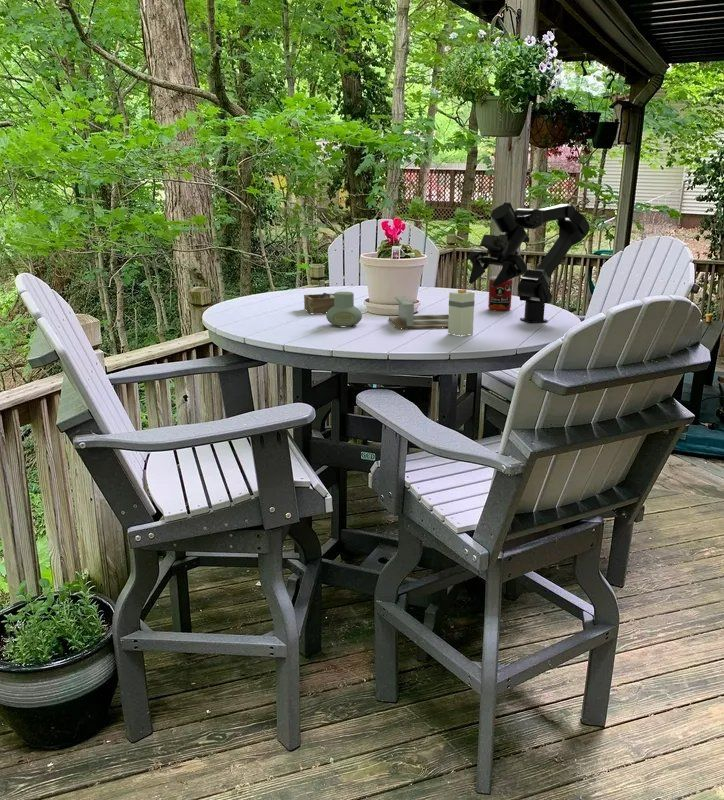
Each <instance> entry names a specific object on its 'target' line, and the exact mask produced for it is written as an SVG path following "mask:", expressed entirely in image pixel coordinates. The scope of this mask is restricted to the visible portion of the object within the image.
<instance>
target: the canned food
mask: <svg viewBox="0 0 724 800" xmlns="http://www.w3.org/2000/svg"><path fill="white" fill-rule="evenodd" d="M497 276H498V275H493V276H490V277H489V283H488V284H489V285H488V287H489V289H488V310H489V309H490V311H492V310H496V311H495V312H506V311H505V310H508V311H510V310H511V308H512V297H513V295H512V294H513V293H512V292H513V279H514V278H512V279H510V280H508V281H506V282H504V283H502V284H500V285H499V286H497V287H494V286H493V283H494V281H495V279H496V278H497Z"/></svg>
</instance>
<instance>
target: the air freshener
mask: <svg viewBox="0 0 724 800" xmlns="http://www.w3.org/2000/svg"><path fill="white" fill-rule="evenodd" d="M333 294H334V307H332V308H330V309H329V310H328V312H327V313H325V314H326V315H325V316H326V320H327V321H328V322H329V323H330V324H331V325H333V326H335V325H336V326H335V327H338V326H350V327H353V326H355V325H357V324H358V323H360V321H362V318H363V313H362V311H361V310H360V309H359V308H358V307H356V306H355V304H354V303H355V302H354V301H355V300H354V299H355V298H354V297H355V295H354V292H352V291H336V292H334V293H333ZM352 325H353V326H352Z"/></svg>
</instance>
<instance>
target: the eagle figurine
mask: <svg viewBox="0 0 724 800" xmlns="http://www.w3.org/2000/svg"><path fill="white" fill-rule="evenodd" d="M321 294H322V295H321V298H334V295H332V294H333V293H326V292H323V293H321ZM328 294H330V296H329V297H328ZM317 297H318V298H320V297H319V296H318V295H317Z"/></svg>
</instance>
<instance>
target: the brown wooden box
mask: <svg viewBox="0 0 724 800" xmlns="http://www.w3.org/2000/svg"><path fill="white" fill-rule="evenodd" d="M322 294H323V293H319V294H304V295H303V297H304V298H303V299H304V301H303V303H304V305H303V306H304V308H303V309H304V310H305V309H306V310H307V311H308V312H307V311H306V310H305V311H306V312H307V313H309V312H310V313H324V314H327V313H326V312H328V310H329V309H330V308H332V307H334V298H321V295H322ZM327 294H328V297H329V296H330V294H332V295H334V294H335V293H327ZM317 295H318V296H319V297H320V298H318V297H317ZM310 313H309V314H310Z"/></svg>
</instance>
